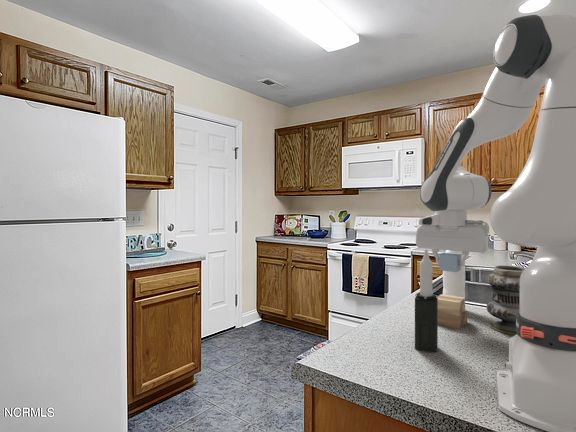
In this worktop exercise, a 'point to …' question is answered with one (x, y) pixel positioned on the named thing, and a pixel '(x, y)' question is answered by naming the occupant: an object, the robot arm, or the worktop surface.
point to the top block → (451, 305)
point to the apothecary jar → (505, 297)
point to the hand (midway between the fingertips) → (450, 264)
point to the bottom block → (452, 320)
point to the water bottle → (454, 280)
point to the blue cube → (449, 262)
